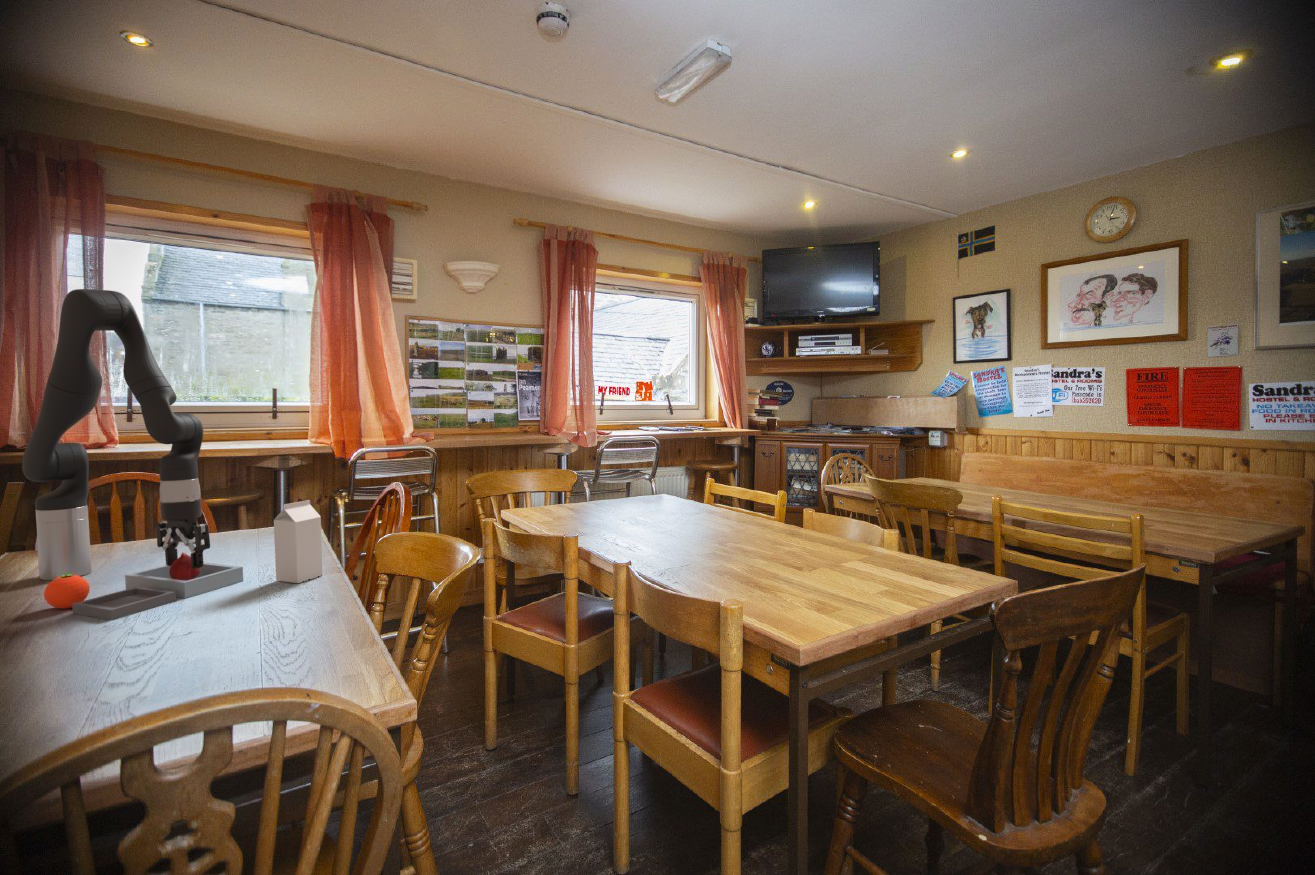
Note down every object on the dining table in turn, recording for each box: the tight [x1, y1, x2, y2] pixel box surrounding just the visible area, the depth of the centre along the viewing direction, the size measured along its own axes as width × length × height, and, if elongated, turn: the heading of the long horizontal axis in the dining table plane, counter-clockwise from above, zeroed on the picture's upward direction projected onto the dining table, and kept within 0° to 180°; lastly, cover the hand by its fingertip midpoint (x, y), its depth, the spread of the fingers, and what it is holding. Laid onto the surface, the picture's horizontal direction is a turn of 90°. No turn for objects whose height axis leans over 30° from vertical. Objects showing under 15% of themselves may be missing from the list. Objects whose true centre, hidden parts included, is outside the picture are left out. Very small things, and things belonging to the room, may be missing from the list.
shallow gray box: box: [124, 561, 244, 599], centre depth 143 cm, size 19×13×4 cm
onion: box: [169, 551, 201, 581], centre depth 142 cm, size 6×6×8 cm
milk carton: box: [273, 499, 324, 584], centre depth 148 cm, size 7×7×19 cm
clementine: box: [43, 574, 91, 609], centre depth 128 cm, size 8×7×7 cm
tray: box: [71, 587, 177, 621], centre depth 128 cm, size 12×12×2 cm
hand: (184, 566), depth 142 cm, fingers open, 8 cm apart
